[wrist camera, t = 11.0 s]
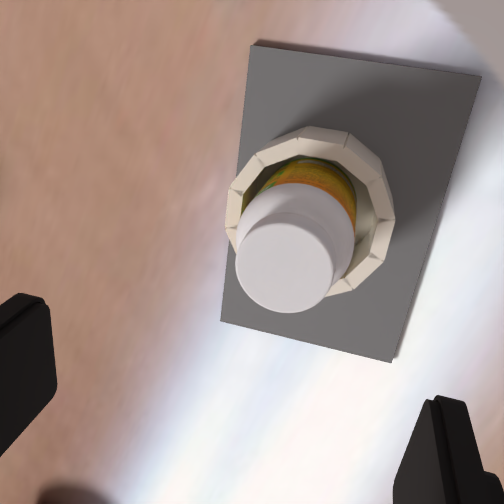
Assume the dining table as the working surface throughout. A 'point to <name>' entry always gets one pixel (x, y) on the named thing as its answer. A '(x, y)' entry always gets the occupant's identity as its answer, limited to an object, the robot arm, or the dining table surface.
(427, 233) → the placemat
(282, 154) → the cream hollow ring
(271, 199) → the supplement bottle
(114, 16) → the dining table surface
